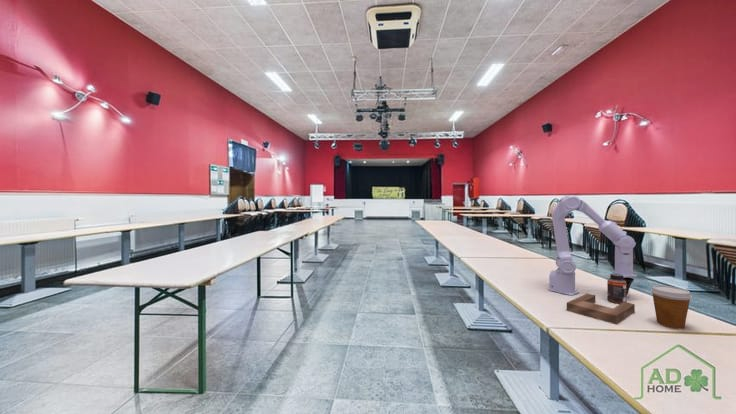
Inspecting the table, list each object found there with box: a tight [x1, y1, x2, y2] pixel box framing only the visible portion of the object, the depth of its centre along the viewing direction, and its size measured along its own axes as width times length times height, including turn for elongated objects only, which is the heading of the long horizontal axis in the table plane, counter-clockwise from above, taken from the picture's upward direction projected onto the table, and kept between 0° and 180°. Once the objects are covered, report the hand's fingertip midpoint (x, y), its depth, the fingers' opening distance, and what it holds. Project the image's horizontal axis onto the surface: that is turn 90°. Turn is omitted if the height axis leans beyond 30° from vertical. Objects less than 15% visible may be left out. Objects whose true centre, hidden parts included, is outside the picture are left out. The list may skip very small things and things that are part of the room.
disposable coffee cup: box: [650, 284, 693, 330], centre depth 94 cm, size 10×10×12 cm
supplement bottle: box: [606, 273, 628, 305], centre depth 115 cm, size 6×6×11 cm
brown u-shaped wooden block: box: [566, 293, 636, 325], centre depth 106 cm, size 15×18×3 cm
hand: (623, 294), depth 120 cm, fingers closed
